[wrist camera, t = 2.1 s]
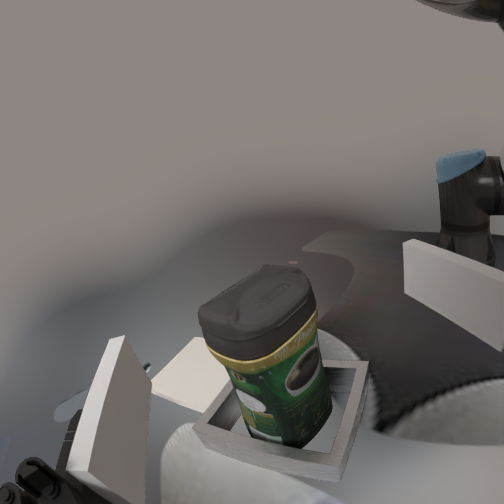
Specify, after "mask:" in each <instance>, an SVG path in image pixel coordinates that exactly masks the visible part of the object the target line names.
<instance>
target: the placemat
mask: <svg viewBox="0 0 504 504" xmlns="http://www.w3.org/2000/svg"><path fill="white" fill-rule="evenodd" d="M229 380H230V377H229V375H228V373H227V371H226V369H225V367H224V365H222V364H221V363H220V362H219V361H218V360H217V359H216V358H215V357H214V356H213V355H212V354H211V353H210V351H209V349H208V348H207V346H206V343H205V339H204V338H199V337H195V338H194V339H193V340H192V341H191V342H190V343H189V344H188V345H187V346H186V347H185V348H184V349H183V350H182V351H181V352H180V353H178V355H176V356H175V357H174V358H173V359H172V360H171V361H170V362H169V363H168V364H167V365H166V366H165V367H164V368H163V369H162V370H161V371H160V372H159V373H158V374H157V375H156V376H155V377H154V378H153V379H152V380H151V382H152V391H151V393H153V394H156V395H158V396H160V397H163V398H165V399H167V400H170V401H172V402H175V403H177V404H180V405H183V406H185V407H188V408H191V409H193V410H196V411H199V412H202V413H204V412H205V411H206V409H207V408H208V407H209V406H210V404H211V403H212V402H213V400H214V399H215V398H216V397H217V395H218V394H219V393H220V391H221V390H222V389H223V387H224V386H225V385H226V384H227V382H228V381H229Z"/></svg>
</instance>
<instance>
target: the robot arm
mask: <svg viewBox="0 0 504 504" xmlns="http://www.w3.org/2000/svg"><path fill="white" fill-rule="evenodd" d="M417 1H419V2H421V3H422V4H424V5H427V6H429V7H432V8H434V9H437V10H439V11H442V12H445V13H448V14H451V15H455V16H458V17H462V18H467V19H471V20H477V21H484V22H495V23H497V24H498V26H499V27H500V29H501V30H502V31H503V32H504V0H417ZM436 172H437V183H438V188H439V199H440V216H441V230H440V234H439V237H438V241H437V244H436V246H433V245H430V244H428V243H425V242H422V241H419V240H416V239H411V240H409V241H406V242H404V243H403V256H404V293H406V294H407V295H409V296H411V297H412V298H414V299H416V300H418V301H419V302H421V303H423V304H424V305H426V306H428V307H429V308H431V309H433V310H434V311H436V312H438V313H439V314H441V315H443V316H444V317H446V318H448V319H449V320H451V321H453V322H454V323H456V324H457V325H459V326H461V327H462V328H464V329H465V330H467V331H469V332H470V333H472V334H473V335H475V336H476V337H478V338H480V339H481V340H483V341H484V342H486V343H487V344H489V345H490V346H492V347H494V348H495V349H497V350H498V351H500V352H501V351H502V350H503V349H504V272H503V271H500V270H498V269H496V268H494V265H495V251H494V246H493V242H492V237H491V233H490V215H504V146H503V147H502V150H501V153H500V156H486V153H485V151H484V150H483V149H474V150H466V151H460V152H455V153H451V154H447V155H444V156H442V157H440V158H439V159H438V160H437V162H436ZM151 391H152V382H151V380H150V379H149V377H148V376H147V374H146V372H145V370H144V369H143V367H142V365H141V363H140V362H139V360H138V358H137V356H136V355H135V353H134V351H133V349H132V347H131V345H130V344H129V342H128V340H127V338H126V336H125V335H124V336H120V337H116V338H113V339H110V340H109V343H108V345H107V347H106V350H105V353H104V355H103V357H102V360H101V362H100V365H99V367H98V370H97V372H96V375H95V378H94V380H93V383H92V386H91V388H90V391H89V394H88V397H87V400H86V403H85V406H84V408H83V409H81V410H78V411H77V412H76V414H75V415H74V416H73V418H72V419H71V421H70V424H69V427H68V430H67V431H68V433H66V436H65V439H64V440H65V442H63V446H62V449H61V452H60V456H59V459H58V463H57V466H56V470H55V471H54V470H53V469H51V468H50V467H49V466H48V465H47V464H46V463H45V462H44V461H42V460H41V459H39V458H37V457H30V458H27V459H25V460H24V461H23V462H22V463H21V464H20V465H19V467H18V468H17V470H16V474H15V481H16V483H17V484H18V485H19V486H20V487H22V488H23V489H24V490H25V491H23V490H22V489H20V488H19V487H18V486H17V485H15V484H13V483H11V482H7V483H5V484H3V485H2V486H1V487H0V504H145V479H146V451H147V435H148V422H149V421H148V420H149V410H150V400H151Z"/></svg>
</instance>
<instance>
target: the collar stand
mask: <svg viewBox="0 0 504 504" xmlns="http://www.w3.org/2000/svg"><path fill="white" fill-rule="evenodd" d="M322 363H323V367H324V372H325V376H326V380H327V383H328V387H329V390H330V391H332V392H345V393H350V395H349V398H348V402H347V405H346V408H345V411H344V414H343V418H342V421H341V424H340V427H339V430H338V432H337V435H336V438H335V441H334V444H333V446H332V449H331V452H330V454H328V453H321V452H315V451H309V450H303V449H298V448H293V447H288V446H283V445H279V444H274V443H270V442H266V441H262V440H258V439H254V438H251V437H247V436H244V435H240V434H237V433H234V432H230V430H231V428H232V427H233V425H234V424H235V422H236V421H237V420H238V418H239V417H240V415H241V414H242V412H241V409H240V406H239V402H238V400H237V396H236V394H235V391H234V388H233V385H232V382H231V379H230V380H229V381H228V382H227V384H226V385H225V386H224V387H223V389H222V390H221V391H220V393H219V394H218V395H217V397H216V398H215V399H214V400H213V402H212V403H211V404H210V406H209V407H208V408H207V409H206V411H205V412H204V413H203V415H202V416H201V417H200V418H199V420H198V421H197V422H196V423H195V424H194V426H193V427H192V429H193V430H194V432H195V433H196V434H197V436H198V437H199V438H200V440H201V441H202V442H203V444H204V445H205V446H206V448H208V449H210V450H213V451H215V452H218V453H221V454H223V455H226V456H229V457H232V458H235V459H238V460H241V461H244V462H247V463H250V464H253V465H257V466H260V467H263V468H267V469H271V470H275V471H278V472H283V473H287V474H291V475H296V476H300V477H306V478H311V479H316V480H322V481H328V482H336V483H340V481H341V478H342V475H343V473H344V470H345V467H346V464H347V461H348V458H349V455H350V452H351V449H352V446H353V443H354V440H355V436H356V432H357V429H358V426H359V422H360V419H361V415H362V411H363V407H364V403H365V399H366V394H367V390H368V378H369V361H345V360H325V359H322Z"/></svg>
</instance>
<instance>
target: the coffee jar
mask: <svg viewBox="0 0 504 504" xmlns="http://www.w3.org/2000/svg"><path fill="white" fill-rule="evenodd" d="M317 316H318V314H317V304H316V300H315V297H314V293H313V291H312V286H311V284H310V281H309V279H308V278H307V276H306V275H305V274H304V273H303V272H302V271H301V270H300V269H299V268H295V267H289V266H279V265H263V266H262V267H261V269H259V270H257V271H255V272H254V273H252V274H250V275H248V276H247V277H245V278H243V279H242V280H240V281H239V282H237V283H236V284H234V285H233V286H231V287H230V288H228V289H227V290H225V291H223V292H222V293H220V294H219V295H217V296H216V297H214V298H213V299H211V300H210V301H208V302H207V303H205V304H204V305H202V306H201V307H200V308H199V310H198V318H199V324H200V326H201V327H202V332H203V335H204V339H205V343H206V346H207V348H208V349H209V351H210V353H211V354H212V355H213V356H214V357H215V358H216V359H217V360H218V361H219V362H220V363H221V364H222V365H224V367H225V369H226V371H227V373H228V375H229V377H230V379H231V382H232V385H233V388H234V391H235V394H236V396H237V400H238V402H239V406H240V409H241V412H242V415H243V419H244V421H245V424H246V426H247V429H248V431H249V434H250V435H251V437H252V438H254V439H258V440H262V441H266V442H270V443H274V444H279V445H283V446H288V447H293V448H298V449H302V448H303V447H304V446H305V445H307V444H308V443H309V442H310V441H311V440H312V439H313V438H314V436H315V435H317V433H318V432H319V431H320V430H321V428H322V427H323V425H324V424H325V423H326V421H327V419H328V418H329V416H330V414H331V412H332V399H331V394H330V390H329V387H328V383H327V380H326V376H325V372H324V367H323V363H322V358H321V354H320V349H319V343H318V334H317Z"/></svg>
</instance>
